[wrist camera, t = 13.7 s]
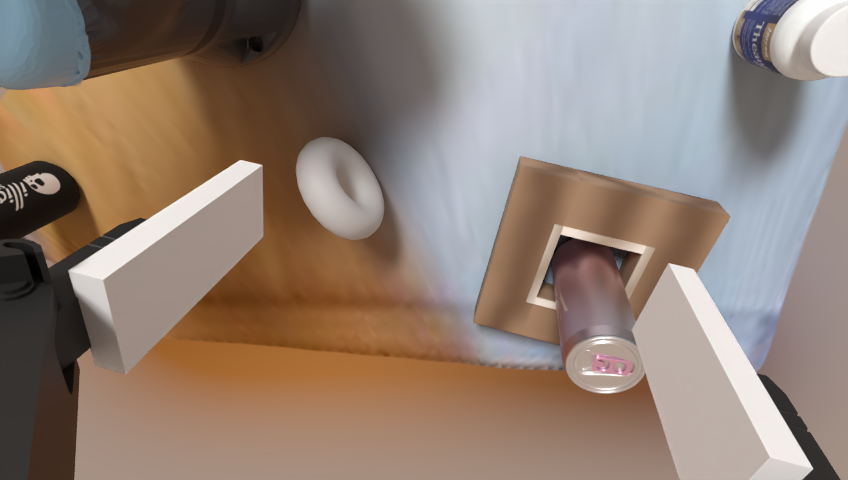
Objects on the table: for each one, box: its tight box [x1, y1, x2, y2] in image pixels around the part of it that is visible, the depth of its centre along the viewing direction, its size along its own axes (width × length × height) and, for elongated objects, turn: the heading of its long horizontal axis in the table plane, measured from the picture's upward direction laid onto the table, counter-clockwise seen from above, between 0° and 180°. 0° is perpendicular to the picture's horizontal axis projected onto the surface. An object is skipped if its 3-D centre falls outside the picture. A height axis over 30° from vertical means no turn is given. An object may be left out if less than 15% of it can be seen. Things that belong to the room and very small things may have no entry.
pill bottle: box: [732, 0, 848, 81], centre depth 30 cm, size 5×5×10 cm
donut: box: [296, 137, 384, 240], centre depth 42 cm, size 10×4×10 cm, turn 34°
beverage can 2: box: [552, 238, 645, 394], centre depth 40 cm, size 6×6×15 cm
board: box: [473, 156, 730, 345], centre depth 45 cm, size 18×18×3 cm
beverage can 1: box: [0, 161, 79, 240], centre depth 49 cm, size 7×7×12 cm
